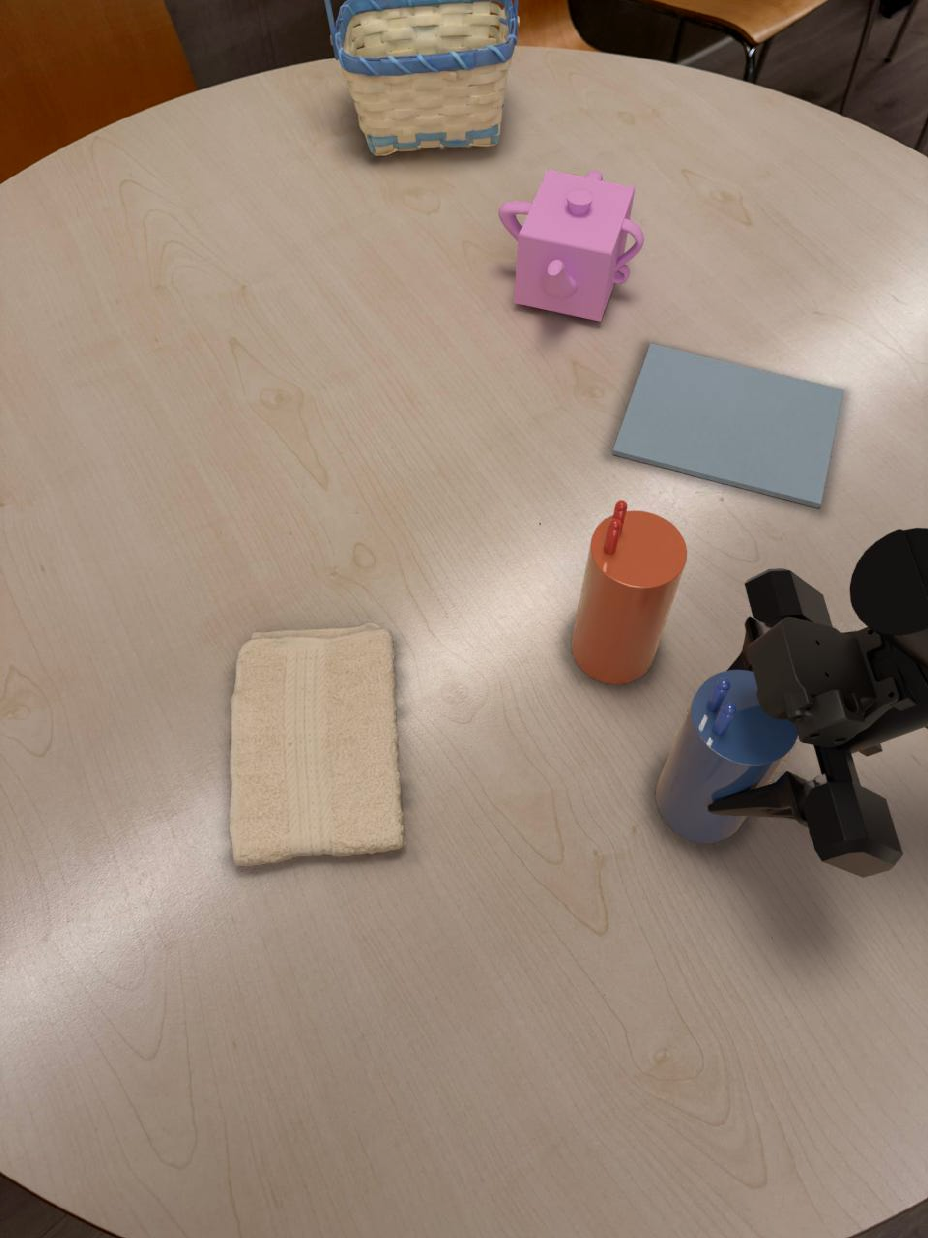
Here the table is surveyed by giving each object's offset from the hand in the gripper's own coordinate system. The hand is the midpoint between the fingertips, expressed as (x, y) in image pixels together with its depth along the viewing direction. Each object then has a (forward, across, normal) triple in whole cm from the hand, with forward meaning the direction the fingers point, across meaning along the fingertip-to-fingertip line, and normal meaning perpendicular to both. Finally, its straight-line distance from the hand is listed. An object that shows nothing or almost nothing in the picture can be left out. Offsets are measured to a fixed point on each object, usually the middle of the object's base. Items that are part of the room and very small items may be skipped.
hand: (700, 761), depth 67 cm
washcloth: (+23, -6, -13) cm, 27 cm away
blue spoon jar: (+4, 0, +6) cm, 7 cm away
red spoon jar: (+7, -13, +3) cm, 15 cm away
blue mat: (-3, -35, +12) cm, 37 cm away
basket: (+15, -81, -5) cm, 83 cm away
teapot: (+6, -54, +4) cm, 54 cm away
